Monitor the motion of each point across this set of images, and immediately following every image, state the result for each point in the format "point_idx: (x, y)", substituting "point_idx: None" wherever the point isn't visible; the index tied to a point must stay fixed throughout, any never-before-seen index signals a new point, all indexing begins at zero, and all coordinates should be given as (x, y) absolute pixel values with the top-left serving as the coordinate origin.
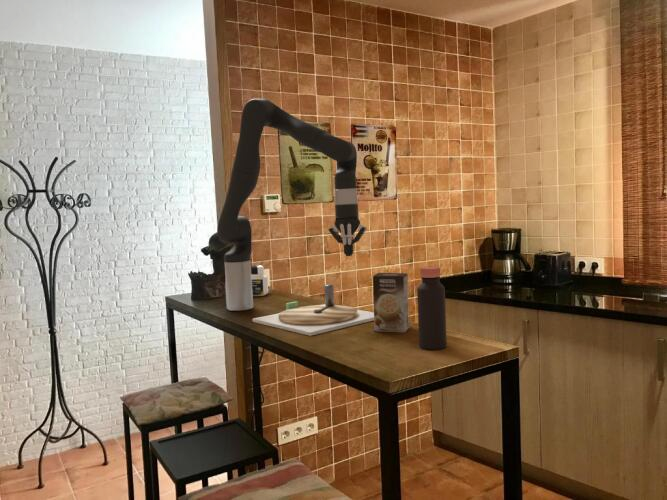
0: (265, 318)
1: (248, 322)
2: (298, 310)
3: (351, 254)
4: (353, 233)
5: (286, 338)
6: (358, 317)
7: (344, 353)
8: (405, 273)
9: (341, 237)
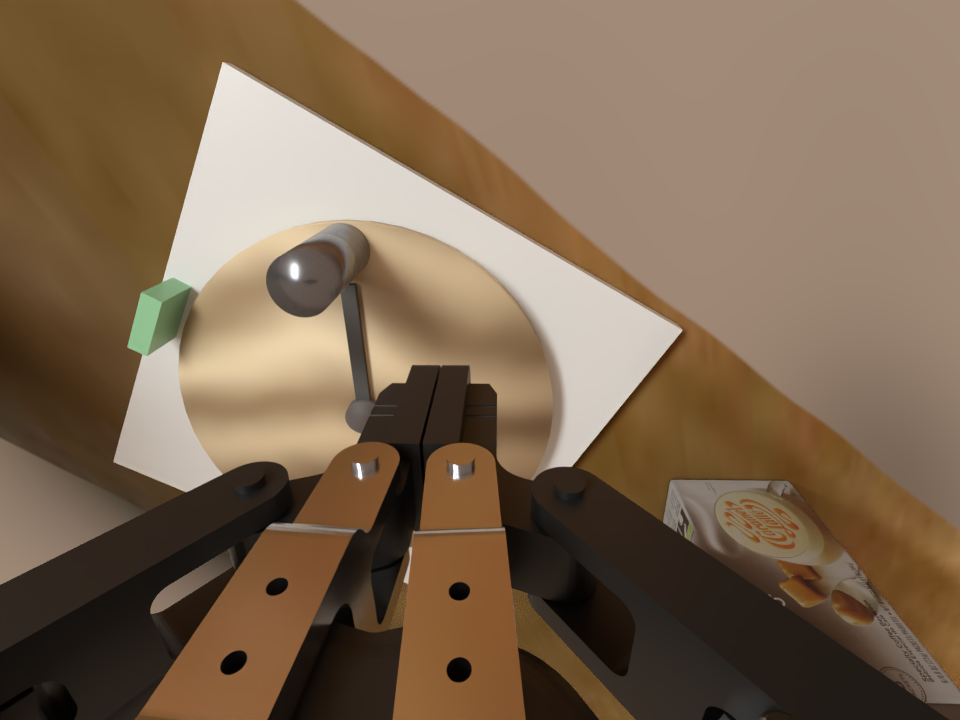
0: (165, 455)
1: (115, 464)
2: (245, 379)
3: (469, 384)
4: (501, 611)
5: (400, 620)
6: (563, 401)
7: (616, 704)
8: (957, 714)
9: (215, 531)
